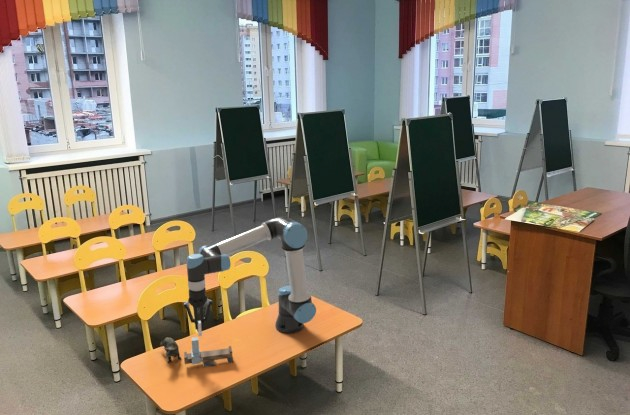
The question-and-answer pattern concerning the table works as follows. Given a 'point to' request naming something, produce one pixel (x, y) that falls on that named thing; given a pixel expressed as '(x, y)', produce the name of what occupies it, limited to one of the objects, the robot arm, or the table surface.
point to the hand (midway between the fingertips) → (200, 334)
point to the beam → (211, 356)
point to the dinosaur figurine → (170, 349)
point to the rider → (195, 351)
